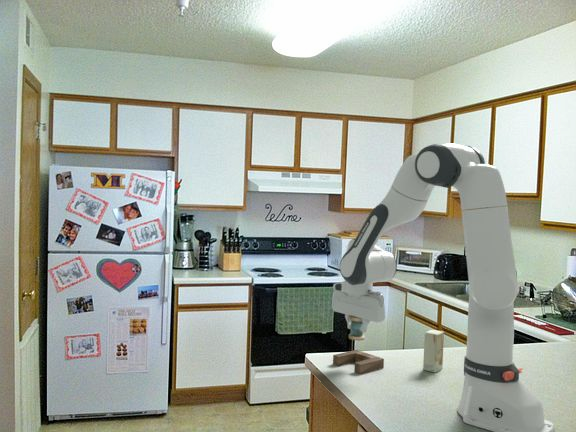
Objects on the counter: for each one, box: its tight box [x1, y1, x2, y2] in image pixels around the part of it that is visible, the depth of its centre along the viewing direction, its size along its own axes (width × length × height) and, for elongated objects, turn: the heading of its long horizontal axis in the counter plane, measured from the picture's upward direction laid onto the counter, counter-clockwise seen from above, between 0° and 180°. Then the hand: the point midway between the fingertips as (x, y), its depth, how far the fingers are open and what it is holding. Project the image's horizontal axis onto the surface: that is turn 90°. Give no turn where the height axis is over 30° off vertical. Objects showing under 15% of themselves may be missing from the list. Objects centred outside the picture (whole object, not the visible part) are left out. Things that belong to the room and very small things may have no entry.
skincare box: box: [422, 329, 445, 373], centre depth 170 cm, size 6×4×12 cm
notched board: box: [332, 349, 385, 375], centre depth 171 cm, size 12×11×3 cm
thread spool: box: [348, 316, 365, 341], centre depth 170 cm, size 5×5×7 cm
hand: (356, 330), depth 170 cm, fingers closed on thread spool, 4 cm apart
